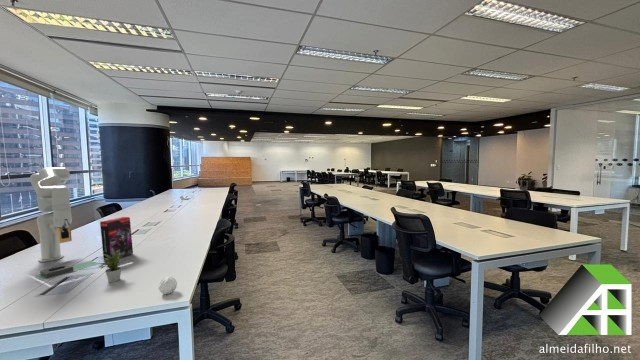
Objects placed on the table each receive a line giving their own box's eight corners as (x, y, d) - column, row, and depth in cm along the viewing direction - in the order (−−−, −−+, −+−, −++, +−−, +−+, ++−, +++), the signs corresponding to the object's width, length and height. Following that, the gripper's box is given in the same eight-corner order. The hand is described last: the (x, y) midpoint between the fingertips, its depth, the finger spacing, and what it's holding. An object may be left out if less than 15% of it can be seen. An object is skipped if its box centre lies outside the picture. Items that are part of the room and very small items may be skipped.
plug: (57, 242, 160) (56, 227, 159) (69, 240, 165) (68, 225, 164) (60, 243, 158) (59, 228, 158) (72, 240, 163) (71, 226, 163)
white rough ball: (157, 298, 127) (156, 282, 127) (160, 291, 134) (159, 276, 134) (176, 294, 131) (175, 279, 130) (178, 288, 138) (177, 273, 137)
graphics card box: (110, 262, 177) (107, 221, 176) (102, 262, 179) (99, 221, 177) (133, 254, 194) (131, 216, 192) (125, 253, 195) (123, 216, 194)
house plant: (102, 276, 154) (100, 248, 153) (131, 272, 159) (130, 245, 158) (93, 287, 141) (91, 256, 140) (125, 282, 146) (123, 252, 145)
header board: (35, 277, 156) (34, 270, 156) (90, 262, 179) (90, 256, 178) (43, 281, 150) (43, 274, 149) (99, 265, 172) (99, 259, 172)
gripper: (47, 207, 160) (49, 238, 161) (59, 209, 153) (61, 241, 154) (63, 205, 167) (65, 234, 168) (75, 207, 159) (78, 237, 160)
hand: (63, 237), depth 161 cm, fingers closed on plug, 3 cm apart
